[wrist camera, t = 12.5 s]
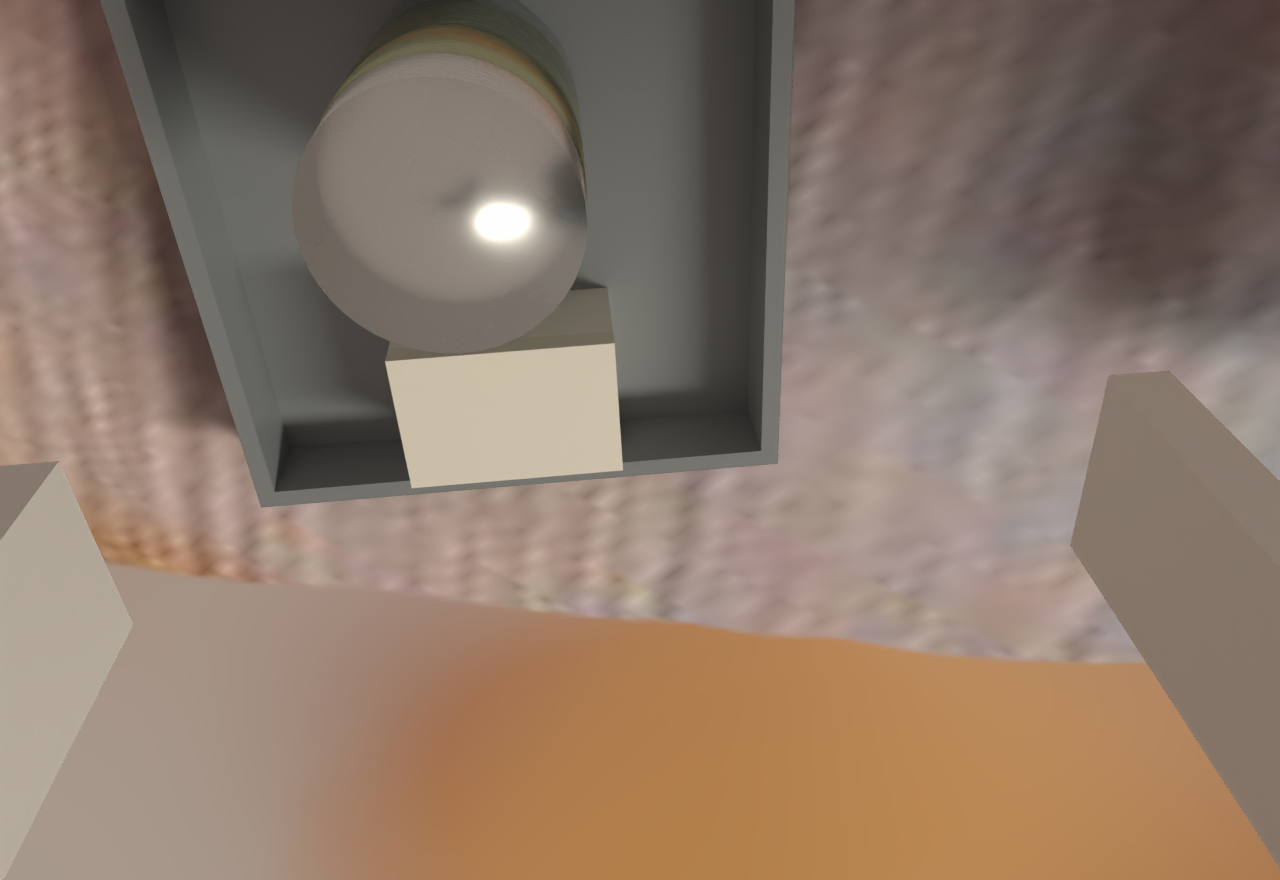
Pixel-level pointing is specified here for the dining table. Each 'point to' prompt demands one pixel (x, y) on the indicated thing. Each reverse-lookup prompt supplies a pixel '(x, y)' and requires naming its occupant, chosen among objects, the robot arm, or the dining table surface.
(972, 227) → the dining table surface
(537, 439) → the cream rectangular block
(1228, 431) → the robot arm
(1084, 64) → the dining table surface
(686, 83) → the tray
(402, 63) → the tin can
